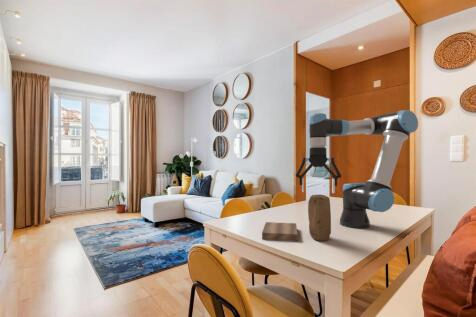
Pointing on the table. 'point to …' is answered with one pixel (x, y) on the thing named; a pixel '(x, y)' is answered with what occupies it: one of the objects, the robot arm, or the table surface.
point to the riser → (280, 231)
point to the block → (319, 217)
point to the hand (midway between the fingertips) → (317, 192)
